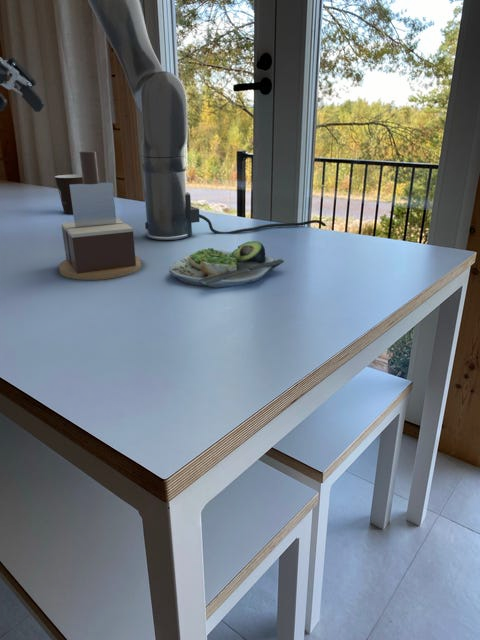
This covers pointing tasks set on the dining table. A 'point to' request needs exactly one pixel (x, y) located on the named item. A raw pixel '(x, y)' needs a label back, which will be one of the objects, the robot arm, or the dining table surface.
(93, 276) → the cake
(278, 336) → the dining table surface
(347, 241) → the dining table surface
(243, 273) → the salad plate
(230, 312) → the dining table surface
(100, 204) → the cake cutter
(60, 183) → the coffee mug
